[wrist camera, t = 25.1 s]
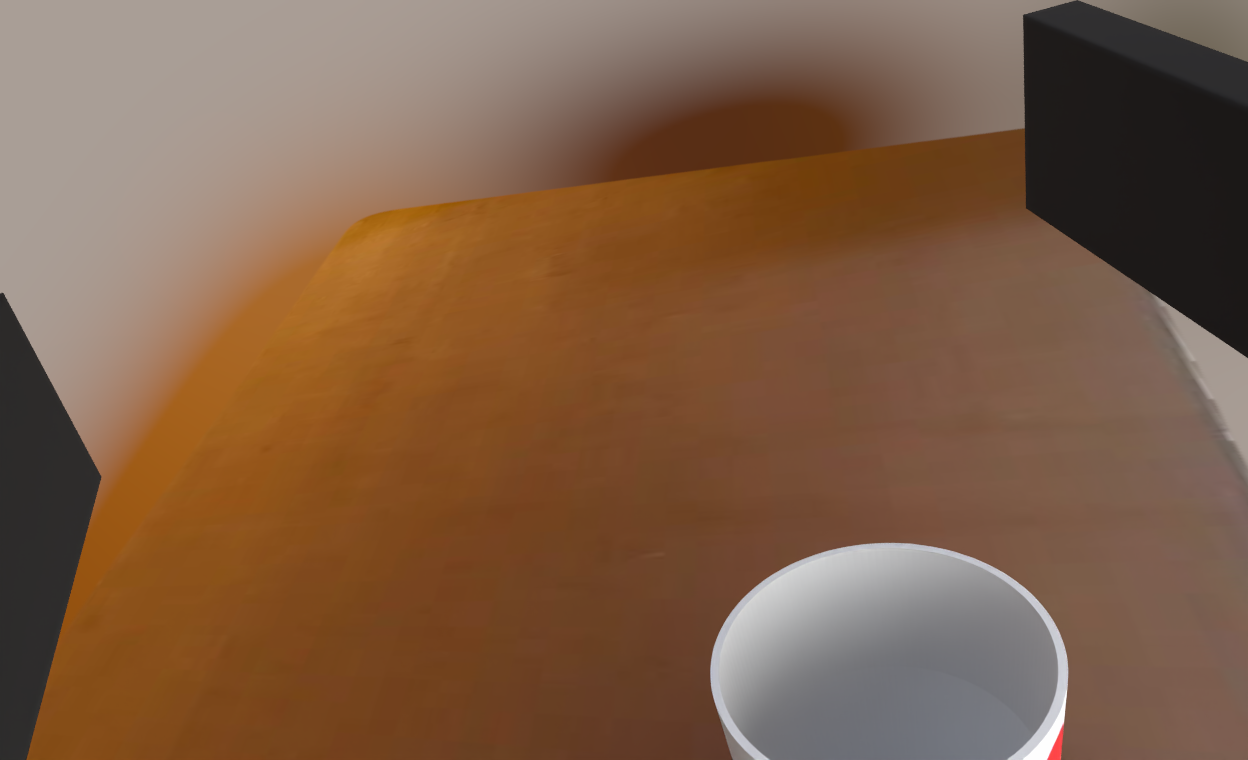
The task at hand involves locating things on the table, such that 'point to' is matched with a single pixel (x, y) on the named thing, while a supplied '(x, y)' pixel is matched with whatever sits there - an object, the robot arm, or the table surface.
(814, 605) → the cup
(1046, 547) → the table surface
